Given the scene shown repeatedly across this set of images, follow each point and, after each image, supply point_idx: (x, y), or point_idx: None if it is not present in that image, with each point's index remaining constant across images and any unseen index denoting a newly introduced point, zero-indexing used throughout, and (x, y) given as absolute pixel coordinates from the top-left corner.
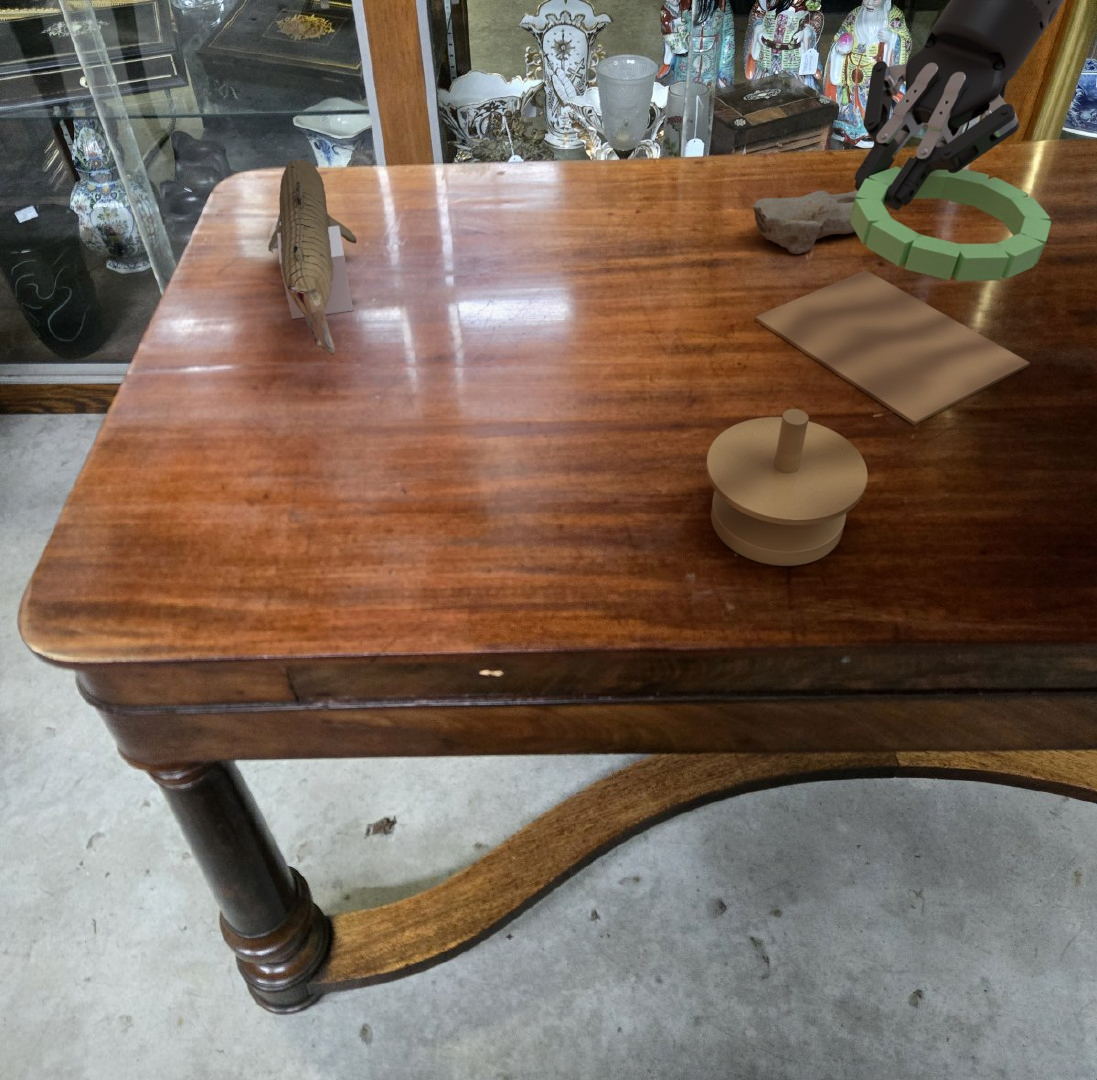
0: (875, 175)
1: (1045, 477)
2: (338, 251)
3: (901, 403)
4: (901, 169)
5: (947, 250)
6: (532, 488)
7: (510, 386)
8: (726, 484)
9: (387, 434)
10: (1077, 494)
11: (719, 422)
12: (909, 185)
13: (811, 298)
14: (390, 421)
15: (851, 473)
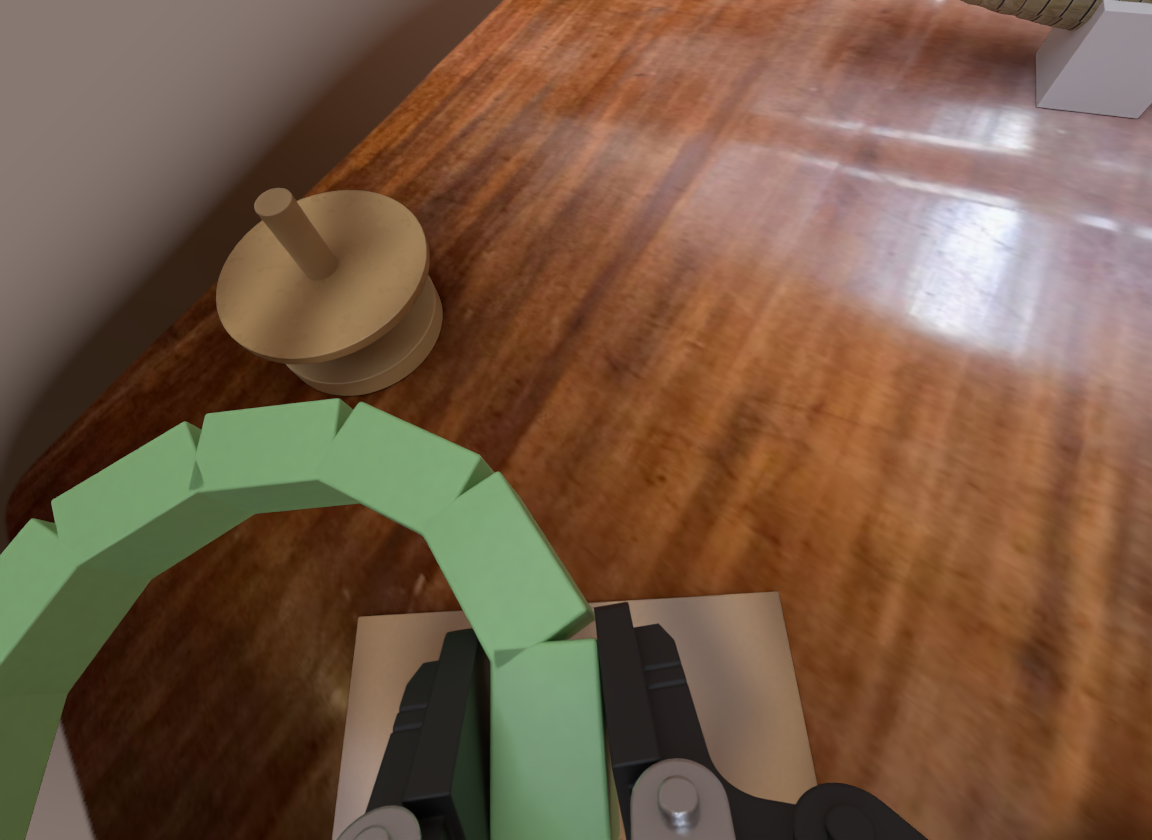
0: (584, 672)
1: (135, 709)
2: (1121, 7)
3: (405, 636)
4: (462, 723)
5: (89, 499)
6: (574, 157)
7: (767, 198)
8: (350, 199)
9: (738, 82)
10: (79, 719)
11: (552, 370)
12: (406, 714)
13: (792, 760)
14: (760, 89)
15: (248, 321)
